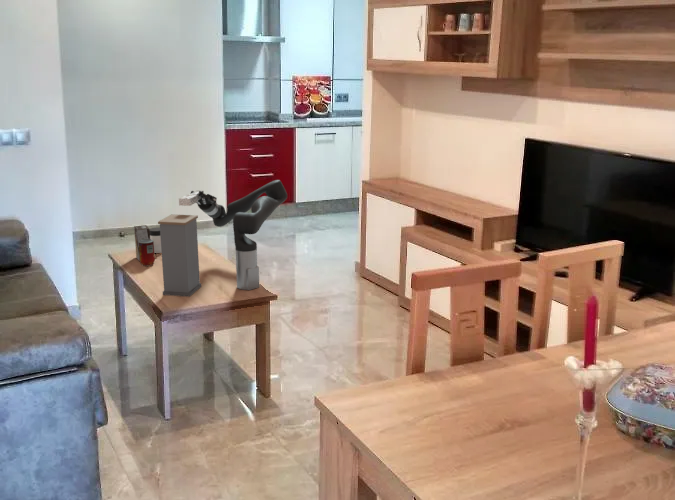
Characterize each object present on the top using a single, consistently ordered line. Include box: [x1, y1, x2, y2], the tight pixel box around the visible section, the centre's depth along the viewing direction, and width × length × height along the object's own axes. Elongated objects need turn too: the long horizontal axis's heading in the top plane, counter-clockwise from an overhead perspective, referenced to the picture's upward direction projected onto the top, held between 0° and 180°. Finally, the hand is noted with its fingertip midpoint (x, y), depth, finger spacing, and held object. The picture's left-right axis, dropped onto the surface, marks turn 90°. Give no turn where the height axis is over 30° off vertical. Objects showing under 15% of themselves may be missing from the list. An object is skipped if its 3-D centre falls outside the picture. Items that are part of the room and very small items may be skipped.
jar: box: [149, 226, 162, 253], centre depth 371 cm, size 9×8×12 cm
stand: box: [157, 214, 202, 297], centre depth 308 cm, size 14×12×32 cm
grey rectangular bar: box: [178, 190, 205, 207], centre depth 319 cm, size 19×5×3 cm, turn 170°
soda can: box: [139, 239, 156, 267], centre depth 349 cm, size 7×7×12 cm
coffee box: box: [133, 224, 151, 262], centre depth 358 cm, size 9×6×16 cm
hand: (195, 193), depth 322 cm, fingers closed on grey rectangular bar, 3 cm apart
